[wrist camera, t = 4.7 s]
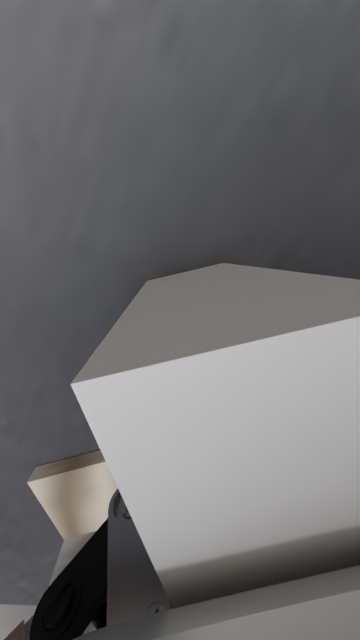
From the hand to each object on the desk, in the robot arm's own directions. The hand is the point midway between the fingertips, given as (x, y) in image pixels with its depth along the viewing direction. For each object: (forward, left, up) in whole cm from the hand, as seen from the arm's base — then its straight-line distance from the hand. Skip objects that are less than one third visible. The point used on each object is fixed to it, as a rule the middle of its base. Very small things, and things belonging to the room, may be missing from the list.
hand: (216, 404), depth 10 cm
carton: (0, 0, -3) cm, 3 cm away
